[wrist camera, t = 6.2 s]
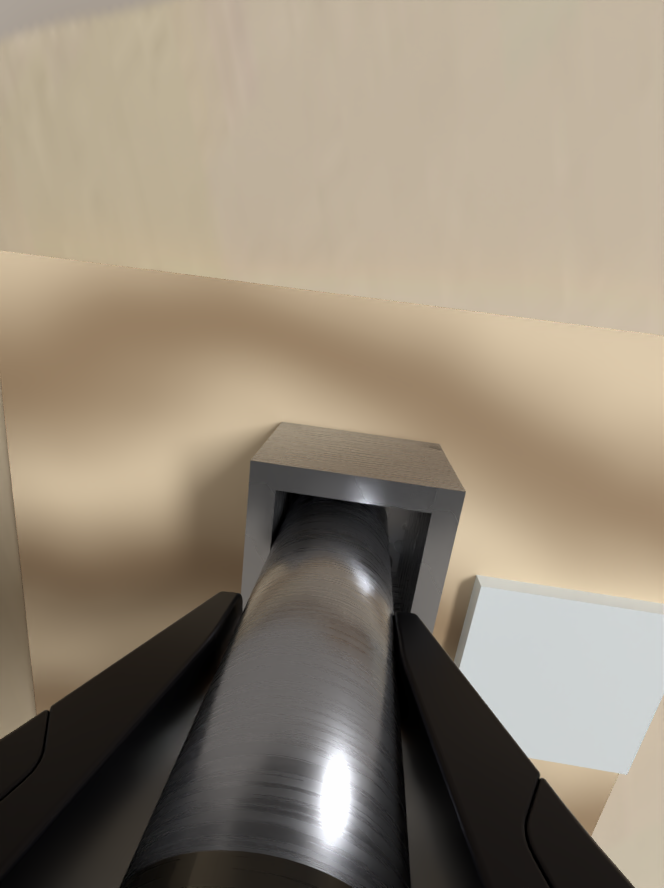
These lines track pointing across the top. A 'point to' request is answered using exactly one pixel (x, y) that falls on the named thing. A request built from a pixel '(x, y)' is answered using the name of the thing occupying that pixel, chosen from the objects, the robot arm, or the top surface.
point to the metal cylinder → (295, 727)
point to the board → (315, 404)
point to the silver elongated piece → (365, 481)
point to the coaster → (565, 669)
